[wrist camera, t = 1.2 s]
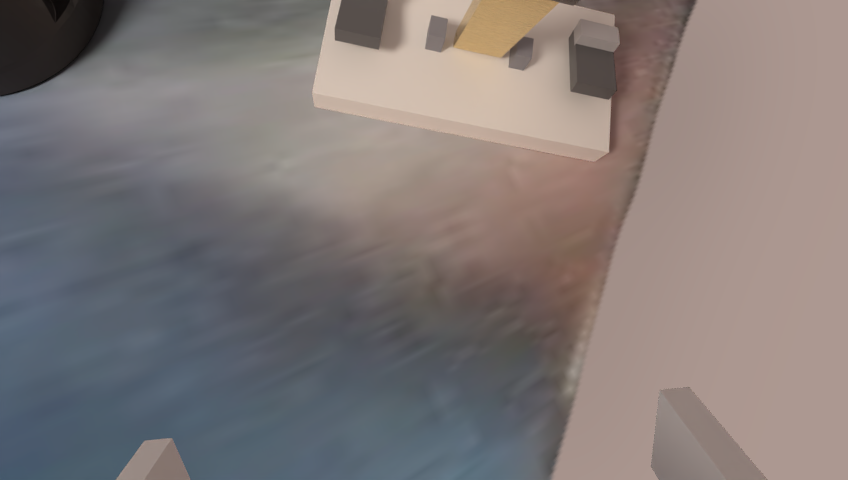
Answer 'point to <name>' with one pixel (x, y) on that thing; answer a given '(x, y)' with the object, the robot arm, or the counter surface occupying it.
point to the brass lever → (500, 24)
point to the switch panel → (467, 80)
